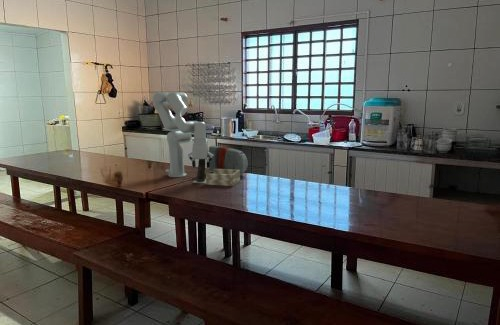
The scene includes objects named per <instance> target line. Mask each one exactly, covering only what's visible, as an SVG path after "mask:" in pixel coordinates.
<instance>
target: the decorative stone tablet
mask: <svg viewBox="0 0 500 325" xmlns="http://www.w3.org/2000/svg"><path fill="white" fill-rule="evenodd" d="M208 151H209V153H211V154H213V155H214V156H213V158H212V160H211V161H210V167H209V168H208V171H210V172H213V169H230V170H240V176H241V175H243V174H244V173H245V172H246V171H247V168H248V165H249V162H248V157H247V156H246V154H245V153H244V152H243V151H242V150H239V149H236V148H230V147H226V146H218V145H210V146H209V147H208ZM210 157H211V156H210V155H209V159H210Z"/></svg>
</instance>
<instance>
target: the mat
mask: <svg viewBox="0 0 500 325" xmlns="http://www.w3.org/2000/svg"><path fill="white" fill-rule="evenodd" d="M192 183H194V184H206V178H205V181H204V182H197V181H196V180H195V179H194V180H193V181H192Z"/></svg>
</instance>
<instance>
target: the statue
mask: <svg viewBox="0 0 500 325" xmlns="http://www.w3.org/2000/svg"><path fill="white" fill-rule="evenodd" d="M197 164H198V165H197V175H196V176H197V177H195V179H194V181H195V180H196V181H197V182H204V181H205V179H206V177H205V176H206V173H205V172H206V159H198V163H197Z"/></svg>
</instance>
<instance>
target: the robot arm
mask: <svg viewBox="0 0 500 325" xmlns="http://www.w3.org/2000/svg"><path fill="white" fill-rule="evenodd" d="M188 100H189V97H188V95H187V94H186V93H185V92H184V91H159V92H156V93H154V94H153V96H152V104H153V108H154V109H155V111H156V113H158V116H159V118H160V120H161V122H162V126H163V127H164V129H165V130H166V131H169V132H168V133H167V134H166V141H167V144H168V151H169V152H168V154H169V167H170V168H169V169H168V168H167V169H165V170H164V171H165V173H168V177H169V178H182V177H183V178H184V177H187V172H185V160H184V149H183V147H182V144H188V143H190V142H191V140H192V142H193V143H192V148H191V152H189V153H188V154H187V156H188V158H189V160H190V161H191V165H192V168H196V164H197V163H196V160H199V159H205V161H206V169H209V167H210V161H211V160H212V158H213V156H214V155H213V154H211V153H209V147H208V146H209V145H208V143H207V134H206V133H207V132H206V128H207V127H206V123H205V122H204V121H198V120H187V121H186V120H185V118H184V117H183V116H184V115H185V114H186V113H187V111H188V106H187V105H186V104H187V103H188ZM166 105H169V106H170V107H171V109H172V110H173V112H174V113H175V115H173V113H172V111H171V110H170V108H169V107H168V106H166ZM192 133H193V137H192ZM209 155H210V156H211V157H210V159H209Z"/></svg>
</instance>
